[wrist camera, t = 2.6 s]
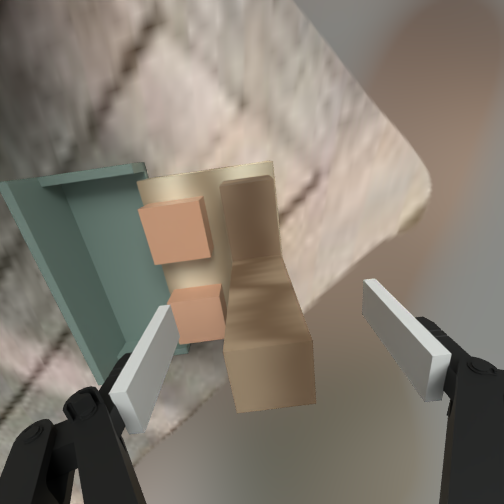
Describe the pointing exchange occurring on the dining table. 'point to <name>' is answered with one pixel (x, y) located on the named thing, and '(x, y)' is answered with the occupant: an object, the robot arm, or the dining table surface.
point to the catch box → (93, 256)
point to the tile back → (199, 313)
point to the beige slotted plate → (208, 186)
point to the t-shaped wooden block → (262, 306)
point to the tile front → (177, 230)
